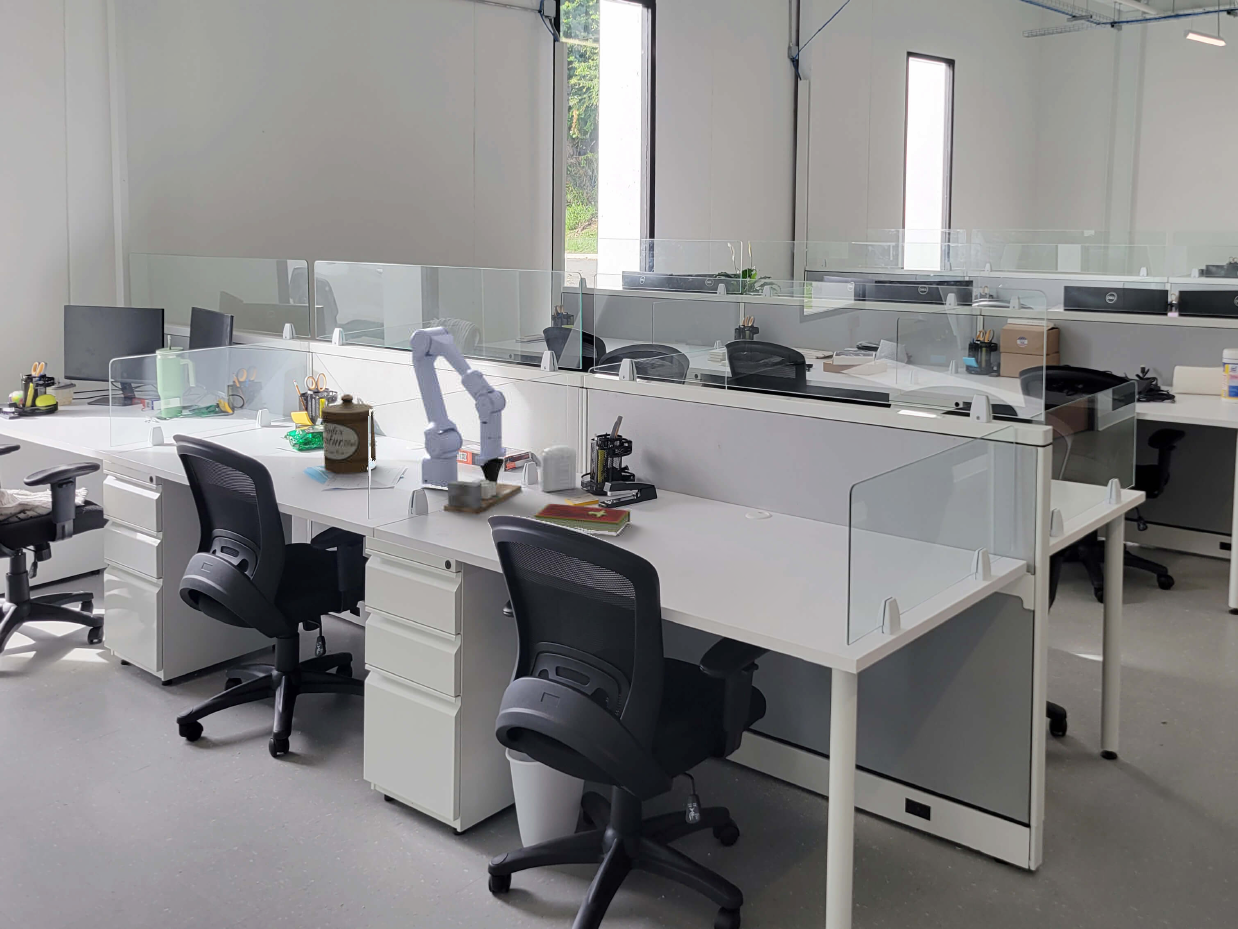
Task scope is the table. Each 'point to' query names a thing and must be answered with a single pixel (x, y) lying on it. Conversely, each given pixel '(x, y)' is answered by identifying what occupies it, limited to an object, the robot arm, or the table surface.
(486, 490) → the gauge
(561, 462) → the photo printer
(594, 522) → the hardcover book
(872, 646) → the table surface
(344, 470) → the wooden container
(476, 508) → the test bench
